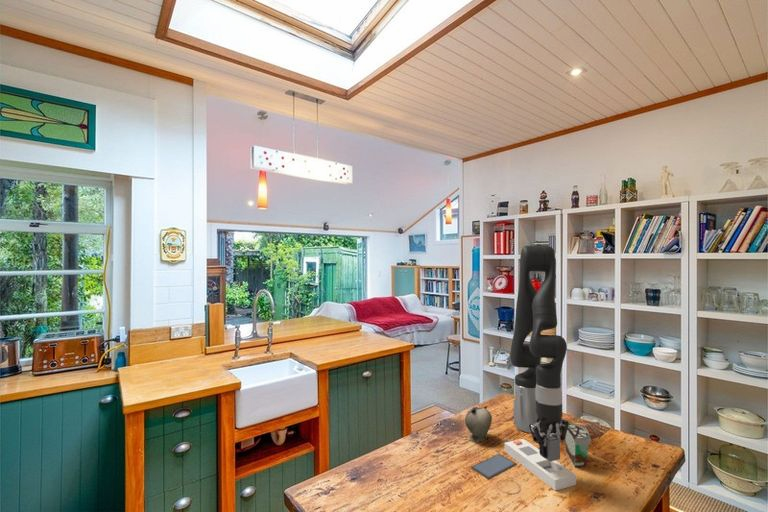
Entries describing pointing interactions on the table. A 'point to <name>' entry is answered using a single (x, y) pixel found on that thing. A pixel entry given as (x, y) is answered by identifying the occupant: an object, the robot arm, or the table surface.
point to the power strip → (540, 464)
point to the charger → (553, 448)
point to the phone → (493, 466)
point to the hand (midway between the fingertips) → (549, 455)
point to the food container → (577, 444)
